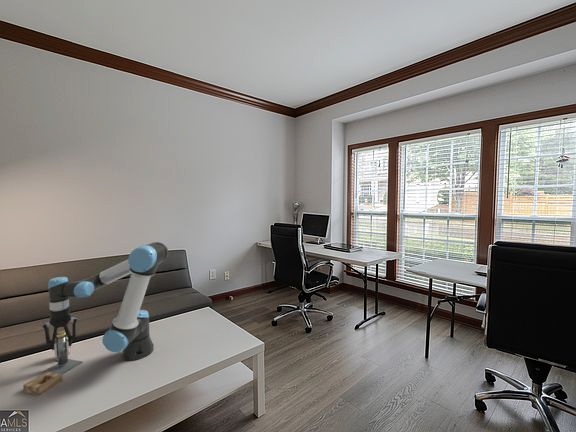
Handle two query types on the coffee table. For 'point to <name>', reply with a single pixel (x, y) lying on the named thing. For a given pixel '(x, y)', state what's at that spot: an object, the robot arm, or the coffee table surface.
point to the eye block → (38, 389)
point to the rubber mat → (63, 367)
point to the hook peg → (61, 347)
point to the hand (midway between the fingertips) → (62, 353)
